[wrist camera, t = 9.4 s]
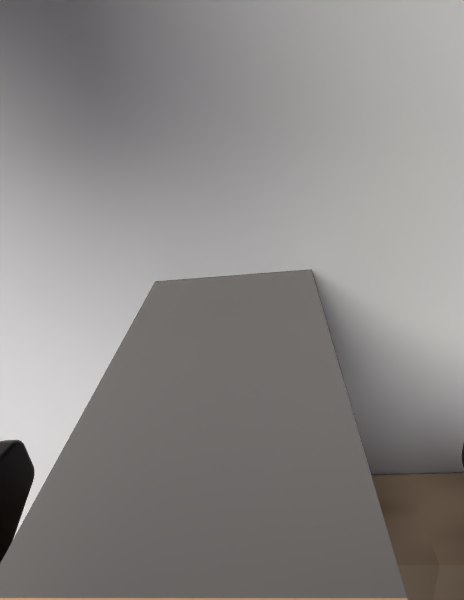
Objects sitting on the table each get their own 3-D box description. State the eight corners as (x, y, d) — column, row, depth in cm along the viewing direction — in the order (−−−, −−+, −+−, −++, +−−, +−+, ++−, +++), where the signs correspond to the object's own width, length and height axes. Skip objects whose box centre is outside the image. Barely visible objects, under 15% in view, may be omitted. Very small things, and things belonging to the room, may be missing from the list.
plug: (311, 269, 11) (441, 713, 3) (314, 396, 13) (401, 878, 5) (155, 281, 11) (-75, 699, 4) (180, 402, 13) (63, 855, 5)
